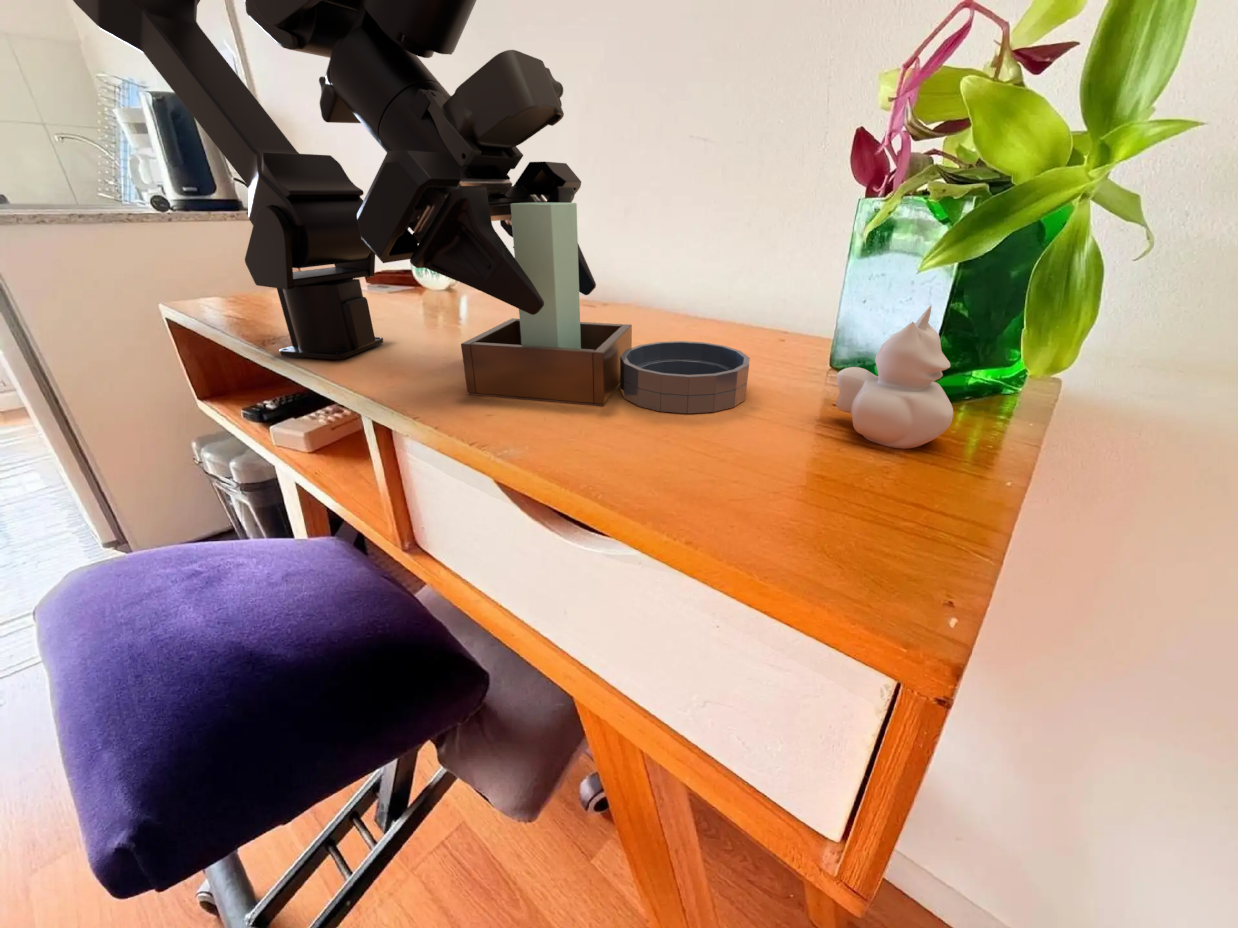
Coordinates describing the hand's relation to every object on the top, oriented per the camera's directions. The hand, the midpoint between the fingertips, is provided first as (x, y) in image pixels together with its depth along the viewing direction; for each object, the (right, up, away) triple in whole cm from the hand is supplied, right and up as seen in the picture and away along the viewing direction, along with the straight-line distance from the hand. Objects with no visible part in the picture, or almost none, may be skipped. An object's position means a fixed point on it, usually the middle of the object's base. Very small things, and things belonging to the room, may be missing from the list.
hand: (567, 299), depth 38 cm
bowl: (+8, -7, +1) cm, 11 cm away
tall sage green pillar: (-1, -5, +3) cm, 6 cm away
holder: (-1, -6, +3) cm, 7 cm away
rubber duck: (+19, -10, -5) cm, 22 cm away
